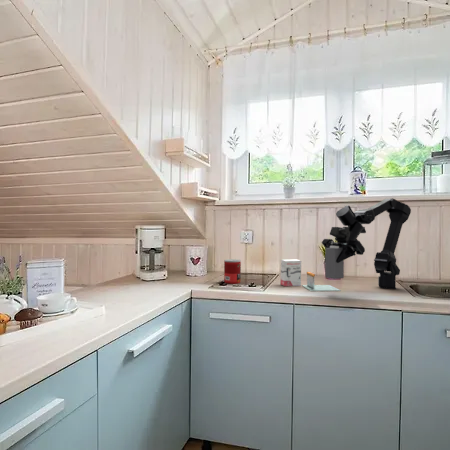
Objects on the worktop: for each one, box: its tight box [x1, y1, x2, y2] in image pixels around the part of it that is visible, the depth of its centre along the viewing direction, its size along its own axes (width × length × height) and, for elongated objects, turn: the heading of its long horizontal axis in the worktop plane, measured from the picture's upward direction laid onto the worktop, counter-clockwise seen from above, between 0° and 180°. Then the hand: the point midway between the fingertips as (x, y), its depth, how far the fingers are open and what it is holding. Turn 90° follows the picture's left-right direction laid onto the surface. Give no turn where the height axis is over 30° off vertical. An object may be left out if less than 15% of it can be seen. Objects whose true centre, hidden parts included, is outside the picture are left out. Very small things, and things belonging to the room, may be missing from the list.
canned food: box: [223, 258, 242, 285], centre depth 171 cm, size 8×8×11 cm
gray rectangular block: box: [324, 246, 345, 280], centre depth 143 cm, size 5×5×13 cm
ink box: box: [280, 258, 302, 287], centre depth 164 cm, size 9×5×12 cm, turn 105°
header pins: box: [306, 271, 316, 289], centre depth 156 cm, size 2×8×6 cm, turn 4°
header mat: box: [301, 284, 341, 292], centre depth 156 cm, size 13×13×1 cm
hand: (331, 261), depth 142 cm, fingers closed on gray rectangular block, 5 cm apart
